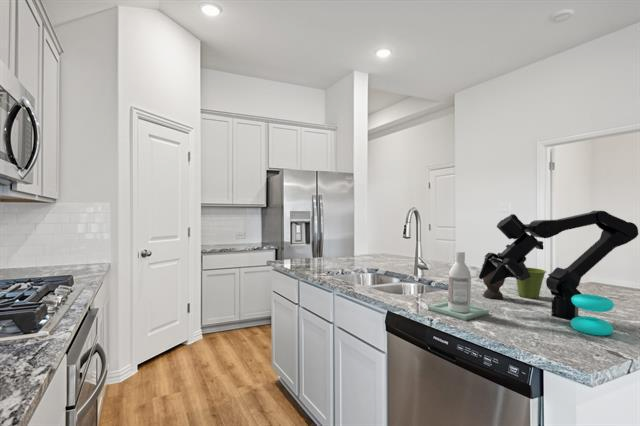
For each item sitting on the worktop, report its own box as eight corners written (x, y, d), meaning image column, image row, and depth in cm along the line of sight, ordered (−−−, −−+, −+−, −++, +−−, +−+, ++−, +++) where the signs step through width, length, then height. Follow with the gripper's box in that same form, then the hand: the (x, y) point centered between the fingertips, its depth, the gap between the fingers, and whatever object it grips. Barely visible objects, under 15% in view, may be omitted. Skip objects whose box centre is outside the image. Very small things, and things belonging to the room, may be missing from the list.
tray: (488, 313, 121) (488, 309, 121) (465, 320, 112) (465, 316, 112) (451, 304, 132) (451, 300, 132) (428, 310, 123) (428, 305, 123)
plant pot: (516, 298, 143) (516, 270, 143) (509, 292, 154) (510, 266, 154) (549, 301, 140) (550, 272, 140) (540, 294, 151) (541, 268, 151)
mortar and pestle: (517, 299, 141) (518, 249, 141) (506, 302, 136) (507, 250, 136) (488, 293, 151) (489, 246, 151) (477, 296, 145) (478, 247, 145)
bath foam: (453, 306, 127) (455, 250, 127) (473, 310, 122) (474, 252, 122) (444, 309, 122) (445, 251, 122) (464, 314, 117) (465, 253, 117)
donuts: (614, 303, 98) (569, 297, 104) (613, 339, 98) (568, 331, 104) (614, 297, 106) (572, 291, 112) (613, 330, 106) (572, 323, 112)
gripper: (552, 271, 110) (514, 305, 112) (523, 262, 129) (491, 292, 130) (526, 245, 111) (488, 279, 112) (500, 240, 130) (469, 269, 131)
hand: (484, 281), depth 121 cm, fingers open, 9 cm apart
